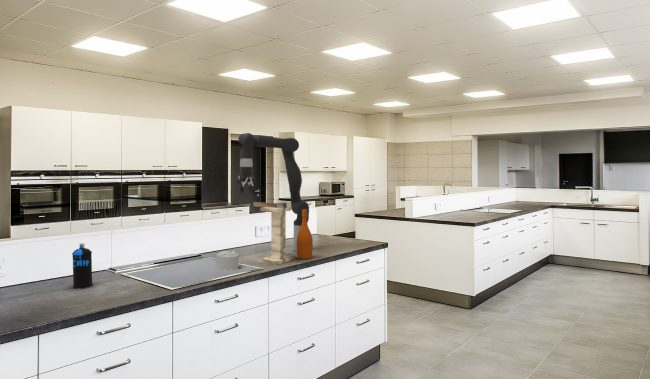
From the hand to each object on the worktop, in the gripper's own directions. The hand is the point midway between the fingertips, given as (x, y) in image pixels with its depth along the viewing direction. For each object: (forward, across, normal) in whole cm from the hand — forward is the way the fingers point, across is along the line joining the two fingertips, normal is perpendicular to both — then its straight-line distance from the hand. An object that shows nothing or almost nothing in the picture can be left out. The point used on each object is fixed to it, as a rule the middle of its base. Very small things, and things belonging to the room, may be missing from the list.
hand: (246, 192), depth 273 cm
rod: (+8, 0, -17) cm, 19 cm away
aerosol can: (+40, -90, +23) cm, 101 cm away
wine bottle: (+40, +17, -31) cm, 54 cm away
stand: (+40, 0, -22) cm, 46 cm away
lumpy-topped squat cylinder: (+40, -26, -8) cm, 49 cm away
